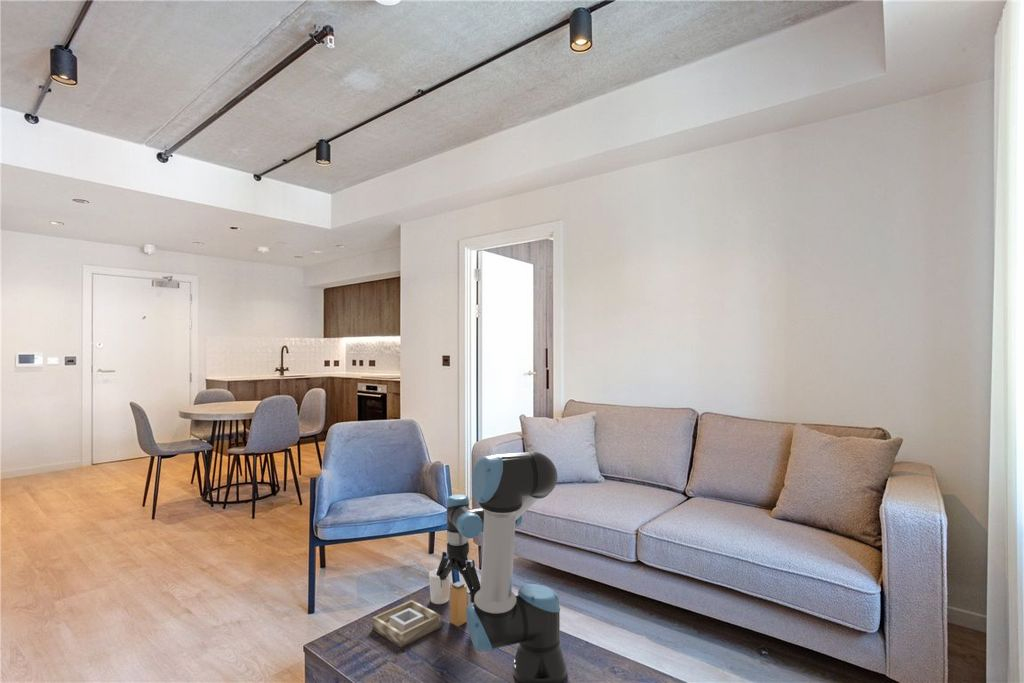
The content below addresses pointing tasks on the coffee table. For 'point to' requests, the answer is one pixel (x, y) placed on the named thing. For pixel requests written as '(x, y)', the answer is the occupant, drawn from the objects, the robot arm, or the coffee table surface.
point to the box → (403, 638)
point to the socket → (404, 615)
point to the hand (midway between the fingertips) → (458, 604)
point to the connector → (458, 603)
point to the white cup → (437, 588)
